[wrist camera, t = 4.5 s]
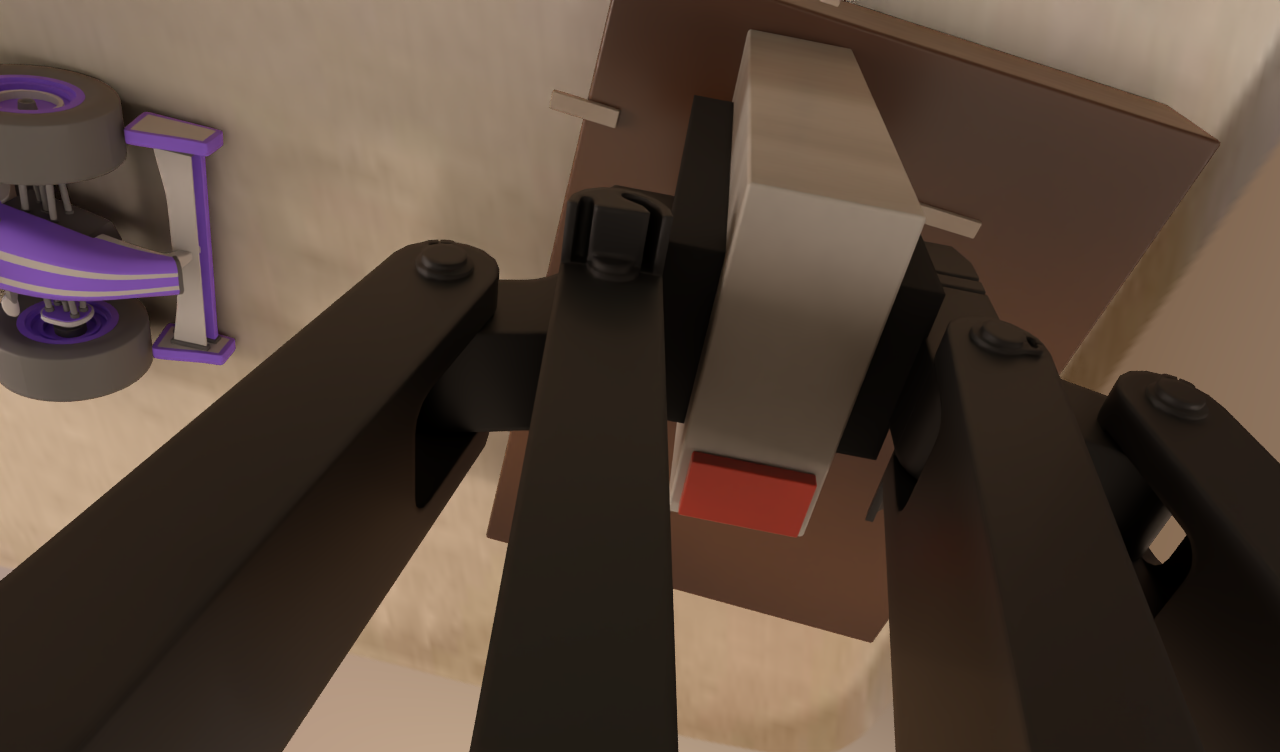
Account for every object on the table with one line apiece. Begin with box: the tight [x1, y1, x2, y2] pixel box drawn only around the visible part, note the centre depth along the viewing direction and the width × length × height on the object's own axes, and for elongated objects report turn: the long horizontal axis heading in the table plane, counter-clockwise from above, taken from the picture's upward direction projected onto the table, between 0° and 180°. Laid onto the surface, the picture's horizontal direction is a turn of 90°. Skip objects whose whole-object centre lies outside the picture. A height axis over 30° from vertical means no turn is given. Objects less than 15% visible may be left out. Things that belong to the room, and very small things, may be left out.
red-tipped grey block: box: [669, 29, 926, 538], centre depth 14 cm, size 5×2×8 cm, turn 171°
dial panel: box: [486, 0, 1220, 643], centre depth 20 cm, size 18×13×3 cm
